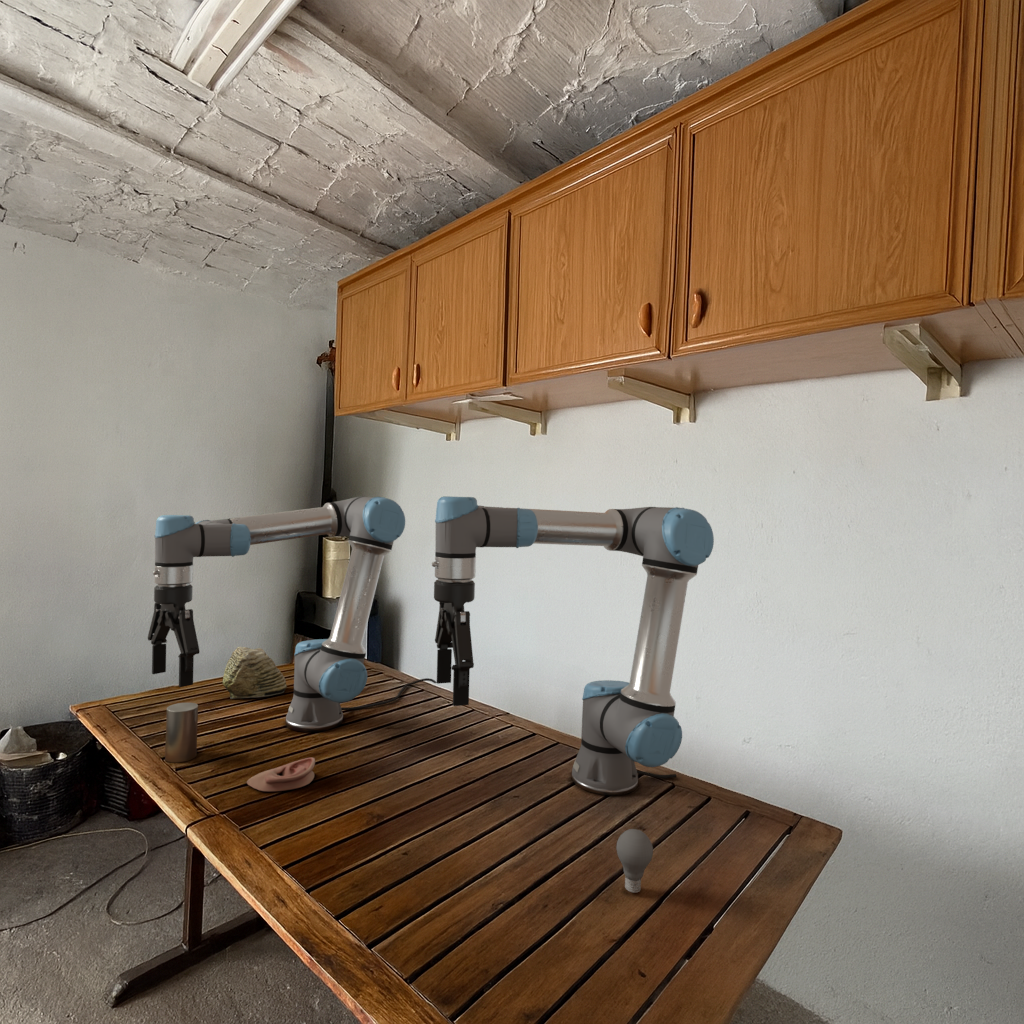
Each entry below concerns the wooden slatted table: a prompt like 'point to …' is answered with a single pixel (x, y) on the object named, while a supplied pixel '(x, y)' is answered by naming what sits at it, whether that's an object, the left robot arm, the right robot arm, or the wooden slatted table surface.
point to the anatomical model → (284, 776)
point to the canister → (181, 732)
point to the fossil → (252, 674)
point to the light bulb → (634, 857)
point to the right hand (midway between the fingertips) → (451, 693)
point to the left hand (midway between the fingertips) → (172, 679)
